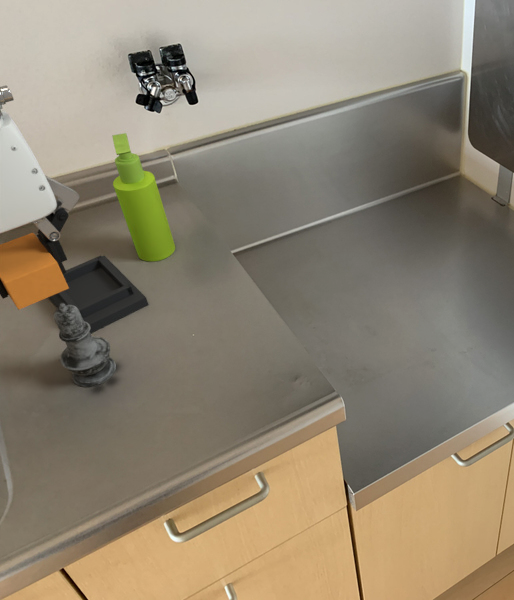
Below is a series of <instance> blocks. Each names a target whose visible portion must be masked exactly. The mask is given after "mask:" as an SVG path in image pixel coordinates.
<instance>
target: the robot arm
mask: <svg viewBox="0 0 514 600" xmlns="http://www.w3.org/2000/svg"><path fill="white" fill-rule="evenodd" d="M12 101H14V96H13V94H12V91H11V90H10V87H9V86H8V85H2V86H0V234H3V233H6V232H9V231H11V230H15V229H18V228H20V227H23V226H25V225H28V224H34V226H35V227H36V228H37V229H38V230H37V234H36V237H37V238H38V239H39V241H40V242H41V243H42V245H43V246H44V247H45V248H46V249H47V251H48V252H49V253H50V254H51V255H52V257H53V258H54V259H55V260H56V262H57V263H58V265H59V267H60V270H61V272H62V274H64V273H66V270H67V269H66V268H65V265H64V263H63V262H66V261H68V257H67V256H66V253H65V251H64V249H63V246H62V244H61V242H60V239H61V236H62V235H61V231H62V230H63V228H64V226H65V224H66V222H67V220H68V218H69V214H70V212H72V210H73V209H74V208H75V207H76V205H77V204H78V202H79V201H80V197H81V196H80V195H79V193H78V192H77V191H76V190H74V189H73V188H71V187H70V186H67V185H66V184H63V183H62V182H59V181H57V180H56V179H54V178H52V177H50V176H48V175H46V174H45V172H44V171H43V168H42V167H41V165H40V163H39V160H38V159H37V157H36V156H35V154H34V151H33V149H32V148H31V146H30V145H29V143H28V142H27V141H26V138H25V136H24V134H23V133H22V131H21V130H20V128H19V127H18V125H17V124H16V122H15V121H14V119H13V118H12V116H10V113H8V112H7V111H5V110H2V109H3V106H4V105H7V104H6V103H9V102H12ZM56 197H57V199H56ZM0 297H1V298H2V300H3V299H6V298H9V294H8V292H7V290H6V288H5V286H4V285H3V283H2V281H1V279H0Z"/></svg>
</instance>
